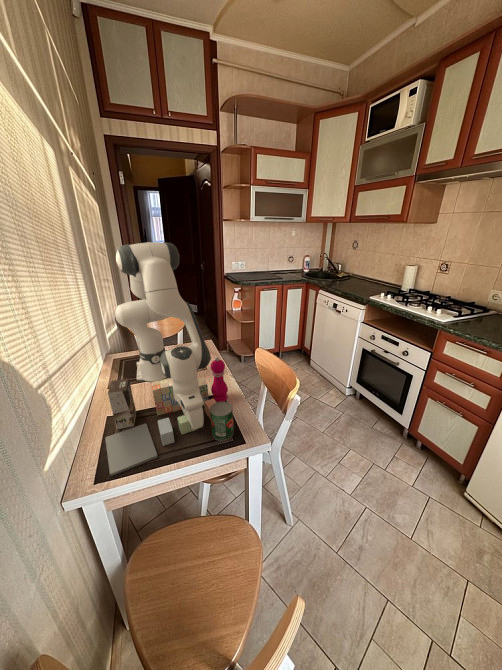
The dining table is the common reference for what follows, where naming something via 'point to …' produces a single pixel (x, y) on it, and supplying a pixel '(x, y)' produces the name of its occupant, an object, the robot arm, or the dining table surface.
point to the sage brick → (184, 424)
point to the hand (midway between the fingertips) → (190, 423)
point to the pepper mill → (218, 381)
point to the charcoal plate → (129, 449)
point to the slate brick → (166, 431)
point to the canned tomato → (222, 420)
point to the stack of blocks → (172, 395)
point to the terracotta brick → (208, 405)
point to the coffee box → (122, 403)
